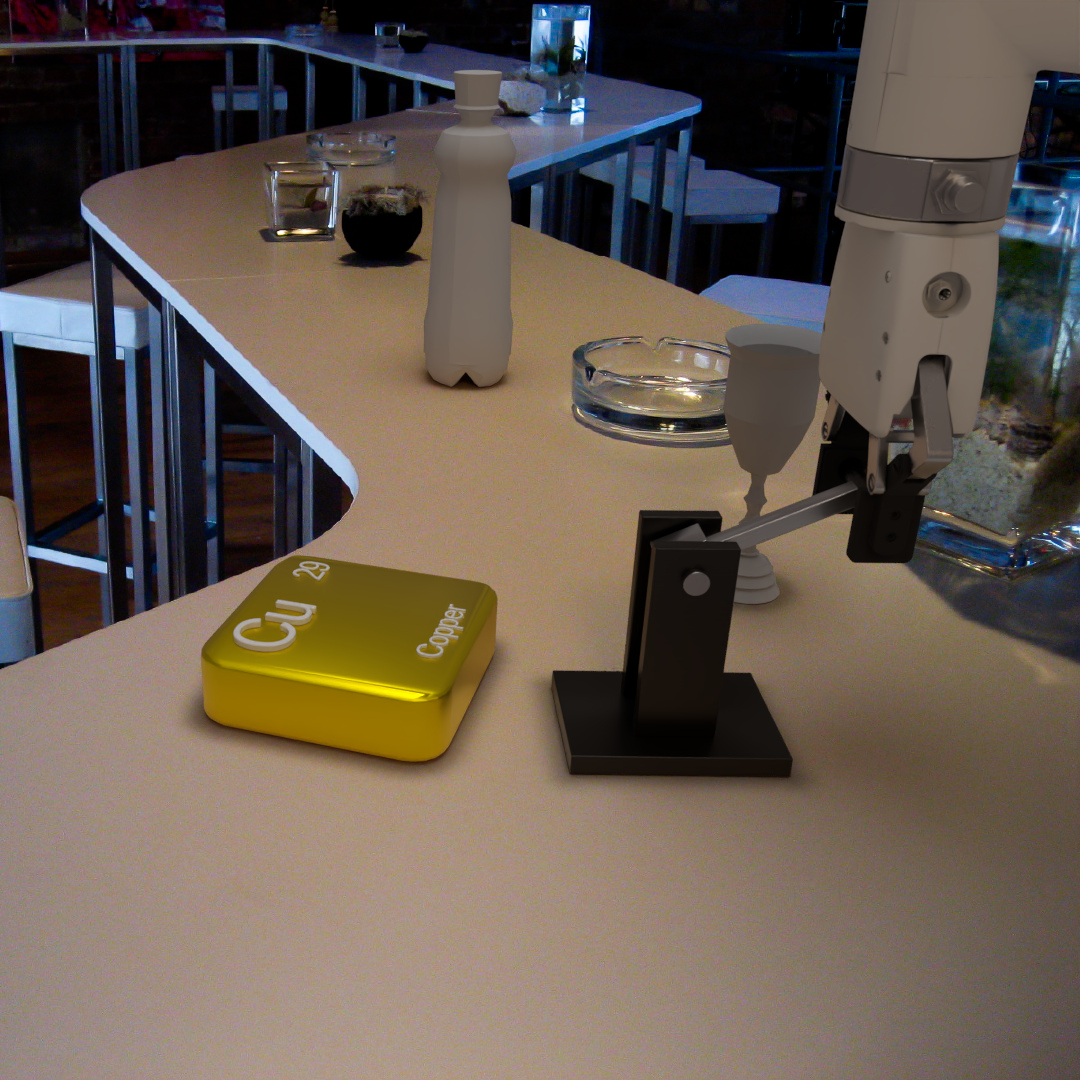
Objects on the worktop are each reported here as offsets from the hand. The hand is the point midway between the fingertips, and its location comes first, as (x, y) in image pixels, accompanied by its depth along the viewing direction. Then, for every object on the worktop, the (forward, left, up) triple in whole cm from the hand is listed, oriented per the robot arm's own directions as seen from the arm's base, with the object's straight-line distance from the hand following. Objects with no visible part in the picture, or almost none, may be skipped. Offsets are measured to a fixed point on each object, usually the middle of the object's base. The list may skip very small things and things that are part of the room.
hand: (858, 532), depth 67 cm
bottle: (+17, -65, -13) cm, 68 cm away
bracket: (+9, 0, -13) cm, 16 cm away
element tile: (+27, -5, -13) cm, 30 cm away
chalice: (0, -18, -13) cm, 22 cm away
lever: (+4, 0, -1) cm, 4 cm away
